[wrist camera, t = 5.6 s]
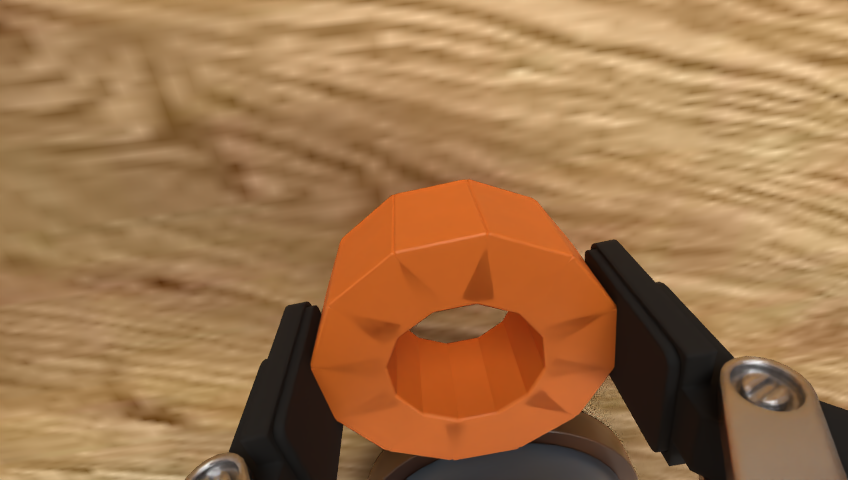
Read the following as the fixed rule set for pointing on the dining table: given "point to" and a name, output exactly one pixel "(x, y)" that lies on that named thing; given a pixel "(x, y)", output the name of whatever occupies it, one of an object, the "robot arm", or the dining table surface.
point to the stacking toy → (525, 459)
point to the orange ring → (468, 359)
